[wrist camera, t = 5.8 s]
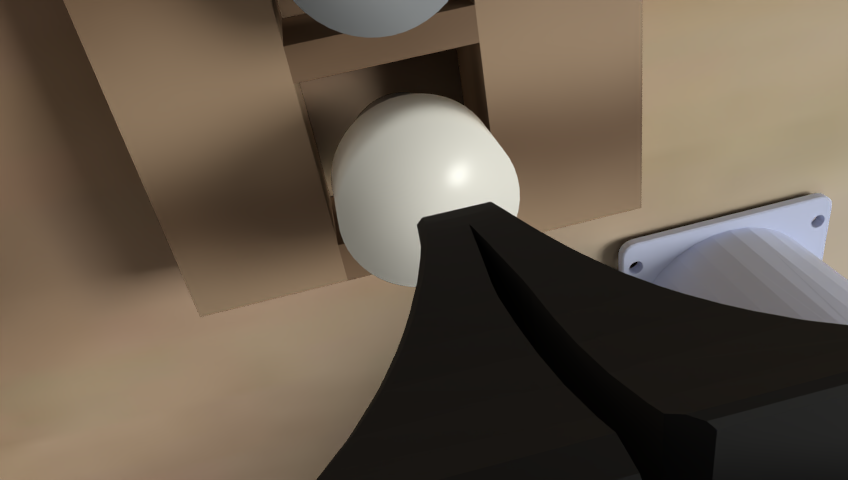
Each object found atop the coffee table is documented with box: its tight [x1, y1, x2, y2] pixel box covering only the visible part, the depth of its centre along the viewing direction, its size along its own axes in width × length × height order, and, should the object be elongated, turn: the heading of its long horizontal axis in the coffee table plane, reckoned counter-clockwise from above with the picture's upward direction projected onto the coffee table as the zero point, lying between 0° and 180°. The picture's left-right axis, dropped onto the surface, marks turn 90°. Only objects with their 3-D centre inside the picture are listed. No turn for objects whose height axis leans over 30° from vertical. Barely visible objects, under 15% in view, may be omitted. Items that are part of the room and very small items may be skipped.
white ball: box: [331, 92, 520, 287], centre depth 16 cm, size 4×4×4 cm
